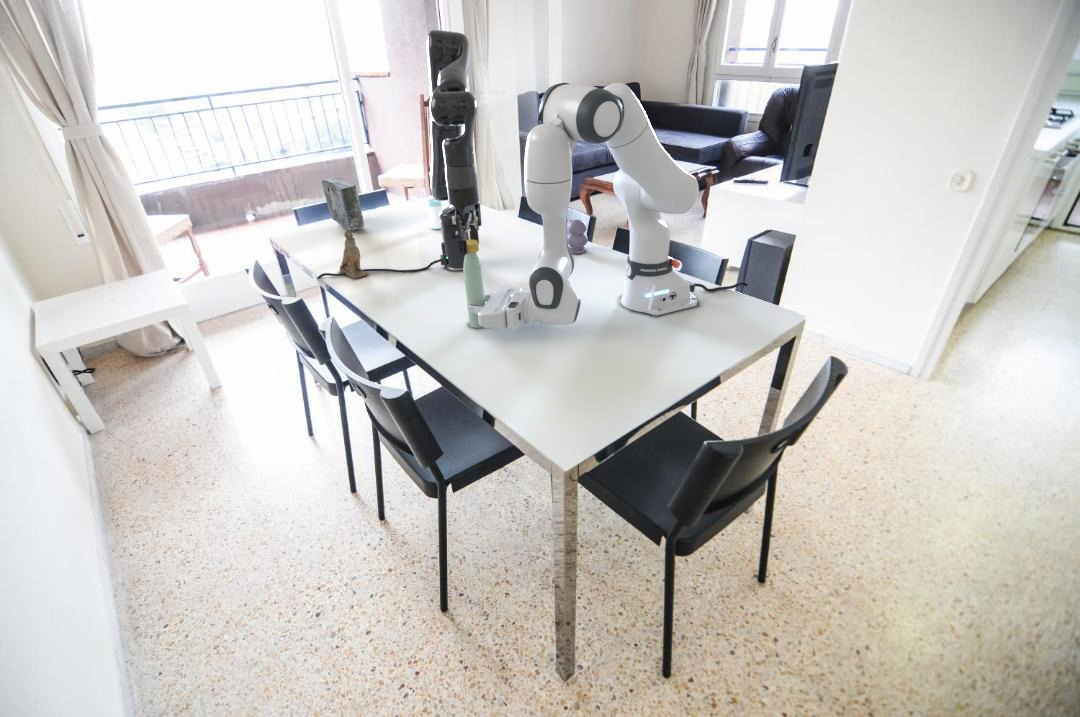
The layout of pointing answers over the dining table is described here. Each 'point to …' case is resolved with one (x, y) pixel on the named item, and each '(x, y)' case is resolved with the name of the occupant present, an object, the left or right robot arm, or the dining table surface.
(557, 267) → the right robot arm
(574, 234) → the cat figurine
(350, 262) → the brown carved statuette
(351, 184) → the concrete block
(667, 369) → the dining table surface
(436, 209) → the white lidded cup
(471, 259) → the bottle
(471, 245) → the cap
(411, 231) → the dining table surface
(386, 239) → the dining table surface
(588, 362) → the dining table surface
